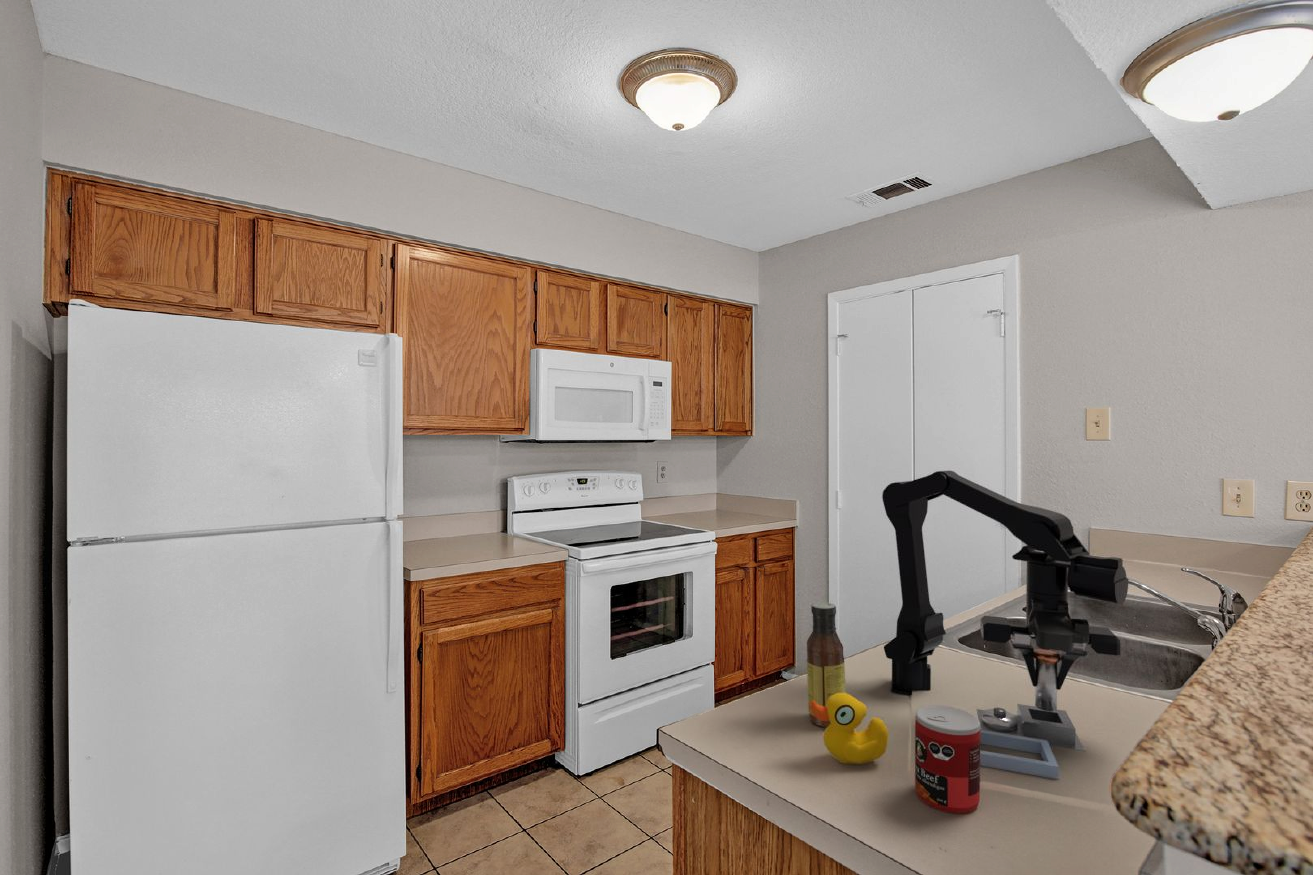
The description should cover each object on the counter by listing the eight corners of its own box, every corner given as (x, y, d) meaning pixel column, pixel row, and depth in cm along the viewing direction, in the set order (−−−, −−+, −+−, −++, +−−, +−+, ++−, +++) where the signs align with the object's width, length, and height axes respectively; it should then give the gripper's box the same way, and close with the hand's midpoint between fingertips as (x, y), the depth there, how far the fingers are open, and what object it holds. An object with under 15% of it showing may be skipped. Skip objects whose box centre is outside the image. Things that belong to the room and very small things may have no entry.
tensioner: (982, 739, 102) (982, 718, 102) (976, 713, 112) (976, 694, 111) (1085, 756, 97) (1085, 734, 97) (1070, 727, 106) (1070, 707, 106)
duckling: (812, 768, 93) (812, 700, 93) (807, 750, 99) (807, 686, 99) (892, 772, 92) (892, 703, 92) (882, 753, 98) (882, 688, 98)
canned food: (904, 783, 89) (905, 705, 89) (959, 780, 90) (959, 703, 90) (932, 816, 82) (933, 731, 82) (992, 813, 82) (993, 728, 82)
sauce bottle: (848, 717, 110) (849, 602, 110) (843, 733, 104) (843, 611, 104) (810, 710, 113) (810, 598, 112) (802, 725, 107) (803, 607, 107)
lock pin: (1034, 710, 102) (1034, 655, 102) (1030, 700, 106) (1030, 647, 106) (1062, 714, 101) (1062, 658, 101) (1057, 704, 104) (1057, 650, 104)
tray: (969, 768, 93) (969, 751, 93) (965, 742, 101) (965, 727, 101) (1058, 784, 89) (1058, 766, 89) (1047, 756, 97) (1047, 740, 97)
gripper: (987, 597, 99) (986, 697, 99) (1132, 610, 92) (1131, 718, 92) (980, 581, 109) (979, 672, 109) (1110, 592, 102) (1109, 689, 102)
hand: (1046, 687), depth 103 cm, fingers closed on lock pin, 3 cm apart
